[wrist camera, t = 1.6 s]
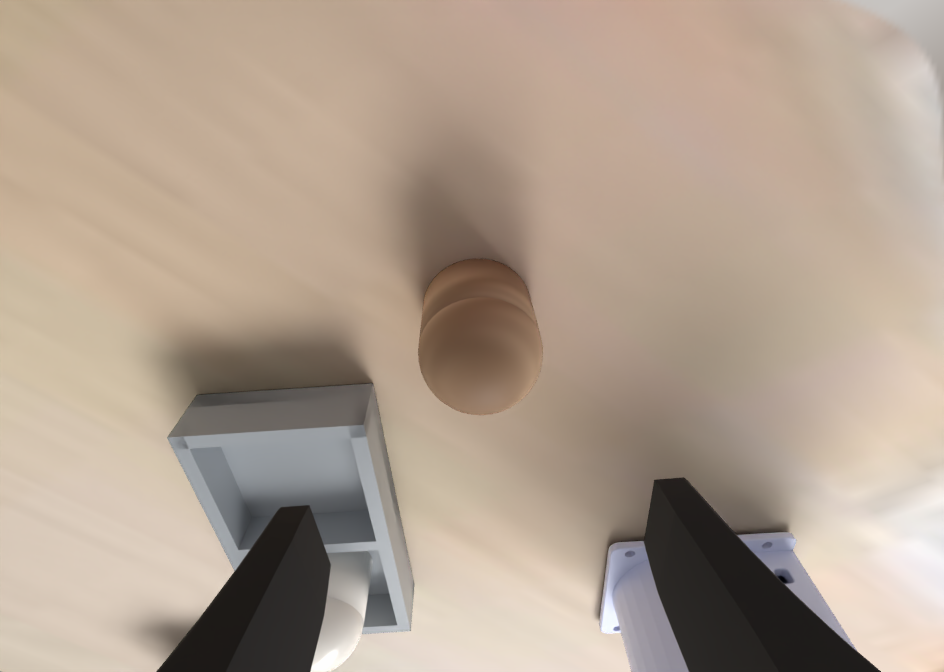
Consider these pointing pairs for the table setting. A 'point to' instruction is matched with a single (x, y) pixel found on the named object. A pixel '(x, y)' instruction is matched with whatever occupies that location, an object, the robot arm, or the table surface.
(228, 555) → the holder
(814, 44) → the table surface
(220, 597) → the robot arm
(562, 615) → the table surface
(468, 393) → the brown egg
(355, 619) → the cream egg
